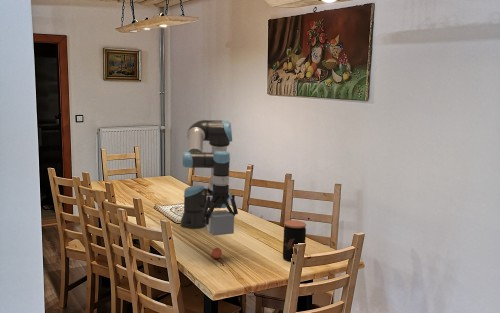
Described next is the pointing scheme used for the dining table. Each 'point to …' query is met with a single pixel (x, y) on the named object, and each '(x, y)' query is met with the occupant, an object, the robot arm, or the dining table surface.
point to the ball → (216, 252)
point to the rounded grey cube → (221, 223)
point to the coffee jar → (293, 237)
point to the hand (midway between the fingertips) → (219, 229)
